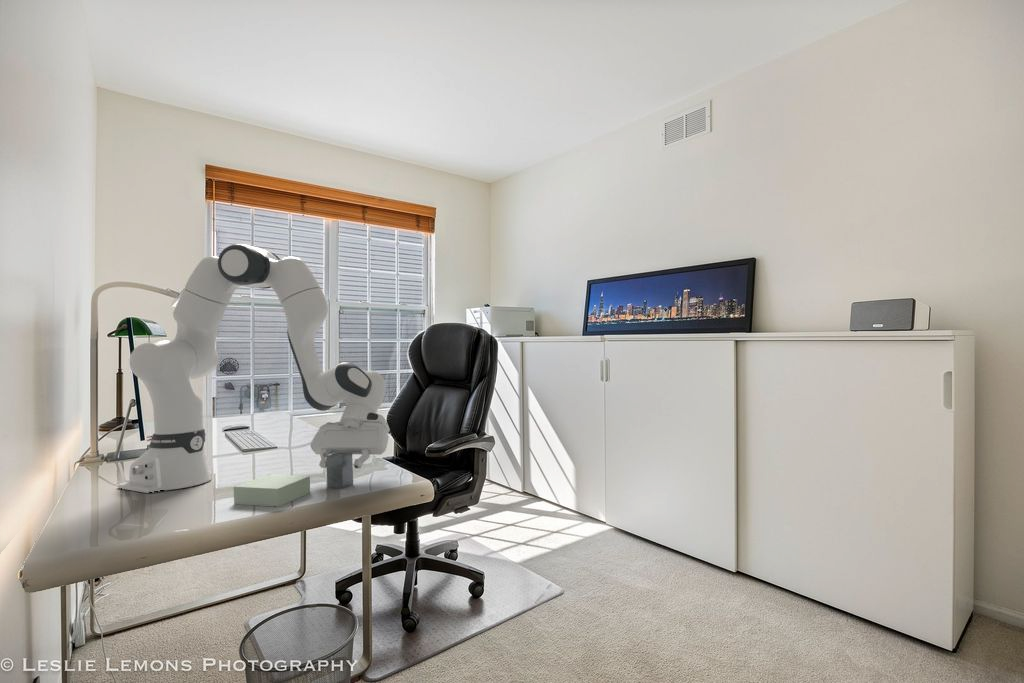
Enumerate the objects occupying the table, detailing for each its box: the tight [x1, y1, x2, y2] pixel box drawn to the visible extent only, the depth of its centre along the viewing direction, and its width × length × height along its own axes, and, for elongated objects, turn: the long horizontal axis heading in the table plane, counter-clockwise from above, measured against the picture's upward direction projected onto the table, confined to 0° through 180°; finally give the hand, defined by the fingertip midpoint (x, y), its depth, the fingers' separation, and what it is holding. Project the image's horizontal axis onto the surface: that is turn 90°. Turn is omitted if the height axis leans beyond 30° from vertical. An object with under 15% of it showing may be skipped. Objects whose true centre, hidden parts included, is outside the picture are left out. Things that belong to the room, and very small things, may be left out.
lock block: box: [326, 453, 354, 490], centre depth 128 cm, size 4×4×8 cm
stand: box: [233, 474, 311, 508], centre depth 119 cm, size 12×11×4 cm
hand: (339, 466), depth 128 cm, fingers open, 8 cm apart
